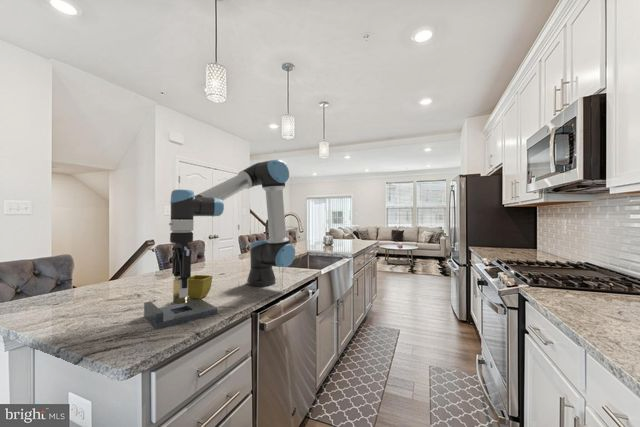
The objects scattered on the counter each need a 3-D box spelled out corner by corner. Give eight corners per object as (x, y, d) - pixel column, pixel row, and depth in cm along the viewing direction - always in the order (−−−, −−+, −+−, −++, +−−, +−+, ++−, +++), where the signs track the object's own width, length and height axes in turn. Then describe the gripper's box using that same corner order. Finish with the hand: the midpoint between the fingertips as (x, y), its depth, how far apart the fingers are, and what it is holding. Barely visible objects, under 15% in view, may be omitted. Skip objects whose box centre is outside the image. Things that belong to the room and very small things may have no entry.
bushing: (185, 299, 100) (185, 277, 101) (189, 301, 97) (190, 280, 97) (171, 301, 97) (171, 279, 97) (175, 304, 94) (175, 282, 94)
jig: (200, 303, 110) (200, 291, 110) (217, 313, 99) (217, 300, 99) (144, 316, 96) (144, 302, 96) (156, 329, 85) (156, 313, 85)
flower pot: (213, 294, 123) (213, 275, 123) (202, 300, 114) (203, 279, 115) (195, 294, 124) (195, 274, 124) (183, 300, 115) (183, 279, 115)
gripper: (163, 231, 101) (162, 292, 101) (178, 233, 89) (177, 303, 88) (184, 230, 107) (183, 289, 106) (201, 232, 94) (200, 298, 94)
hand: (180, 295), depth 97 cm, fingers closed on bushing, 5 cm apart
